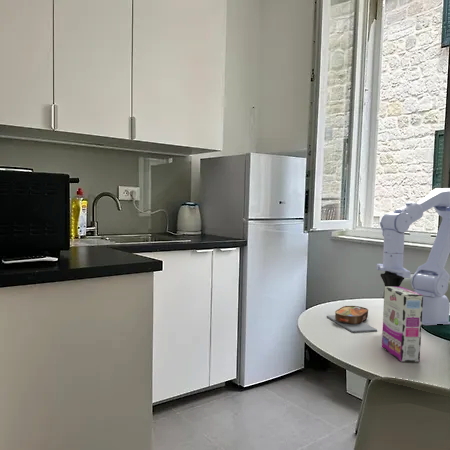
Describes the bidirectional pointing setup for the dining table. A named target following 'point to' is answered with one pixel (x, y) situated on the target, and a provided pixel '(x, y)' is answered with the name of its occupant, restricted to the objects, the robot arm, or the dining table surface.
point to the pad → (353, 326)
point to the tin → (351, 314)
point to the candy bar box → (402, 323)
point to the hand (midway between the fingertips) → (391, 297)
